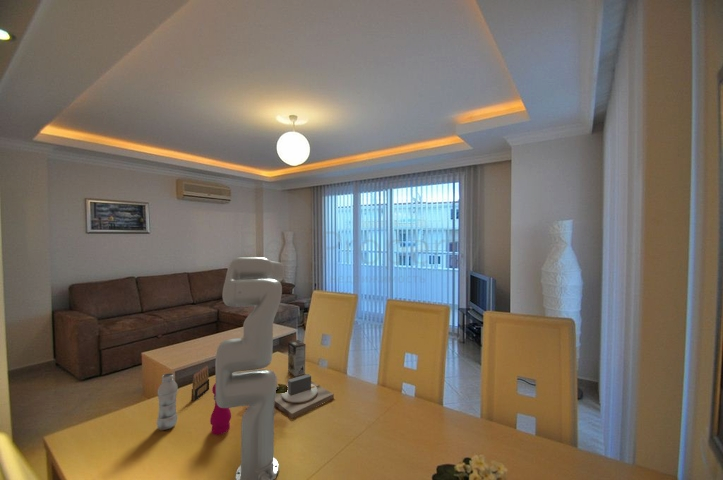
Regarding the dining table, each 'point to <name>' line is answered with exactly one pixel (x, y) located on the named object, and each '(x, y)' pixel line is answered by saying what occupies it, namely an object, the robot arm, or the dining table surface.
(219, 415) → the pepper mill
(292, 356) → the coffee box
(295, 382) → the dial
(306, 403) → the dial board
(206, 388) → the ammunition clip
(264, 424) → the robot arm
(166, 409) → the plastic bottle
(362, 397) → the dining table surface
